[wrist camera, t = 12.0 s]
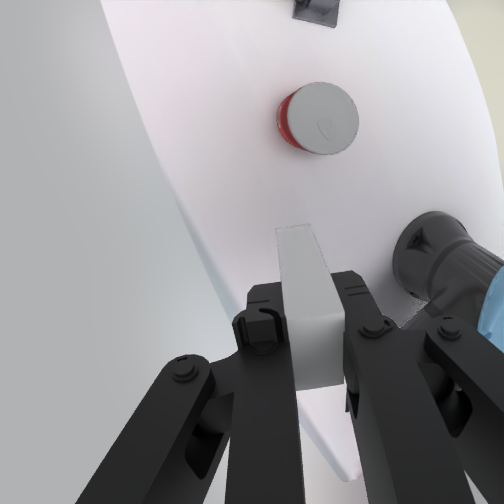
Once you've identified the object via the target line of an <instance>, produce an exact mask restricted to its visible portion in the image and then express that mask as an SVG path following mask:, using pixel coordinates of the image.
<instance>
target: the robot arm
mask: <svg viewBox="0 0 504 504" xmlns="http://www.w3.org/2000/svg"><path fill="white" fill-rule="evenodd" d="M275 230H276V238H277V247H278V256H279V265H280V274H281V282H275V283H268V284H260V285H254V286H253V287H252V289H251V290H250V291H249V292H248V294H247V307H246V310H243V311H241V312H240V313H239V314H238V315H237V316H236V317H234V320H233V322H232V327H233V330H234V334H235V338H236V342H237V346H238V351H237V352H235V353H234V354H232V355H231V356H229V357H227V358H225V359H222V360H219V361H216V362H212V363H209V362H208V361H207V360H206V359H205V358H204V357H202V356H199V355H195V354H192V355H183V356H180V357H176V358H175V359H173V360H171V361H170V362H168V363H167V364H166V366H165V367H164V368H163V369H162V370H161V372H160V373H159V375H158V376H157V378H156V379H155V381H154V383H153V384H152V386H151V387H150V389H149V390H148V392H147V393H146V395H145V396H144V398H143V399H142V401H141V402H140V404H139V405H138V407H137V408H136V410H135V412H134V413H133V415H132V416H131V418H130V419H129V421H128V422H127V424H126V425H125V427H124V428H123V430H122V431H121V433H120V435H119V436H118V438H117V439H116V441H115V442H114V444H113V445H112V447H111V448H110V450H109V452H108V453H107V455H106V456H105V458H104V459H103V461H102V462H101V464H100V465H99V467H98V469H97V470H96V472H95V473H94V475H93V476H92V478H91V480H90V481H89V483H88V484H87V486H86V488H85V489H84V490H83V492H82V494H81V495H80V497H79V498H78V500H77V502H76V503H75V504H203V502H204V499H205V497H206V494H207V492H208V489H209V487H210V485H211V482H212V480H213V478H214V475H215V473H216V470H217V468H218V465H219V463H220V461H221V458H222V455H223V453H224V451H225V448H226V446H227V443H228V441H229V438H230V447H229V458H228V469H227V480H226V492H225V504H306V503H305V489H304V477H303V464H302V452H301V441H300V430H299V419H298V408H297V399H296V391H300V390H307V389H314V388H321V387H327V386H334V385H340V384H344V376H345V380H346V383H347V393H346V410H345V412H349V410H350V415H351V419H352V423H353V428H354V432H355V437H356V442H357V446H358V451H359V456H360V461H361V466H362V471H363V476H364V481H365V486H366V491H367V497H368V502H369V504H504V260H502V259H501V258H499V257H497V256H496V255H494V254H493V253H491V252H490V251H488V250H486V249H485V248H483V247H482V246H480V245H478V244H477V243H475V242H474V241H473V240H472V238H471V237H470V236H469V235H468V233H467V231H466V229H465V228H464V226H463V225H462V224H461V223H460V222H459V221H458V220H457V219H455V218H454V217H452V216H450V215H448V214H446V213H443V212H429V213H426V214H424V215H422V216H420V217H418V218H417V219H415V220H414V221H413V222H412V223H411V224H410V225H409V226H408V227H407V228H406V229H405V230H404V232H403V233H402V235H401V237H400V238H399V240H398V243H397V245H396V248H395V252H394V257H393V269H394V274H395V277H396V279H397V281H398V283H399V284H400V285H401V286H402V288H403V289H404V290H405V291H406V292H407V293H408V294H410V295H411V296H413V297H415V298H418V299H421V300H423V301H426V302H428V304H426V305H425V306H424V307H423V308H422V309H421V310H420V311H419V312H418V313H417V314H416V315H415V316H413V317H412V318H411V319H410V320H409V321H408V322H407V323H406V324H405V325H404V326H403V327H401V328H398V326H397V325H396V323H395V322H394V321H393V320H392V319H390V318H388V317H386V316H383V315H382V314H381V312H380V310H379V308H378V306H377V305H376V303H375V301H374V299H373V297H372V295H371V293H369V290H368V288H367V286H366V284H365V282H364V280H363V279H362V277H361V276H360V275H358V274H357V273H355V272H354V271H352V270H351V271H345V272H338V273H331V274H330V272H329V270H328V267H327V265H326V262H325V260H324V257H323V255H322V252H321V250H320V247H319V245H318V243H317V240H316V238H315V235H314V233H313V231H312V228H311V226H310V224H306V225H299V226H292V227H285V228H278V229H275Z"/></svg>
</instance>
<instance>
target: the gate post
mask: <svg viewBox="0 0 504 504" xmlns="http://www.w3.org/2000/svg"><path fill="white" fill-rule="evenodd" d="M339 1H340V0H305V1H304V2H298V1H297V0H295V6H294V12H293V18H294V19H299V20H303V21H308V22H312V23H316V24H321V25H325V26H328V27H332V28H335V27H336V25H337V17H338V9H339Z"/></svg>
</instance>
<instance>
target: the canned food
mask: <svg viewBox="0 0 504 504" xmlns="http://www.w3.org/2000/svg"><path fill="white" fill-rule="evenodd" d="M277 124H278V128H279V131H280V132H281V134H282V136H283V137H284V138H285V140H286V141H288V142H289V143H290V144H292V145H293V146H295V147H298V148H301V149H303V150H306V151H309V152H312V153H314V154H319V155H333V154H336V153H339V152H341V151H343V150H345V149H346V148H347V147H348V146H350V144H351V143H352V142H353V140H354V139H355V137H356V135H357V131H358V126H359V117H358V112H357V108H356V106H355V104H354V102H353V100H352V99H351V98H350V96H349V95H348V94H347V93H346V92H345V91H344V90H342V89H341V88H339V87H338V86H335V85H333V84H330V83H325V82H316V83H311V84H308V85H306V86H303V87H301V88H300V89H298V90H297V91H295V92H294V93H292V94H291V95H290V96H288V97H287V98H286V99H284V101H283V102H282V103H281V105H280V107H279V109H278V113H277Z"/></svg>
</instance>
